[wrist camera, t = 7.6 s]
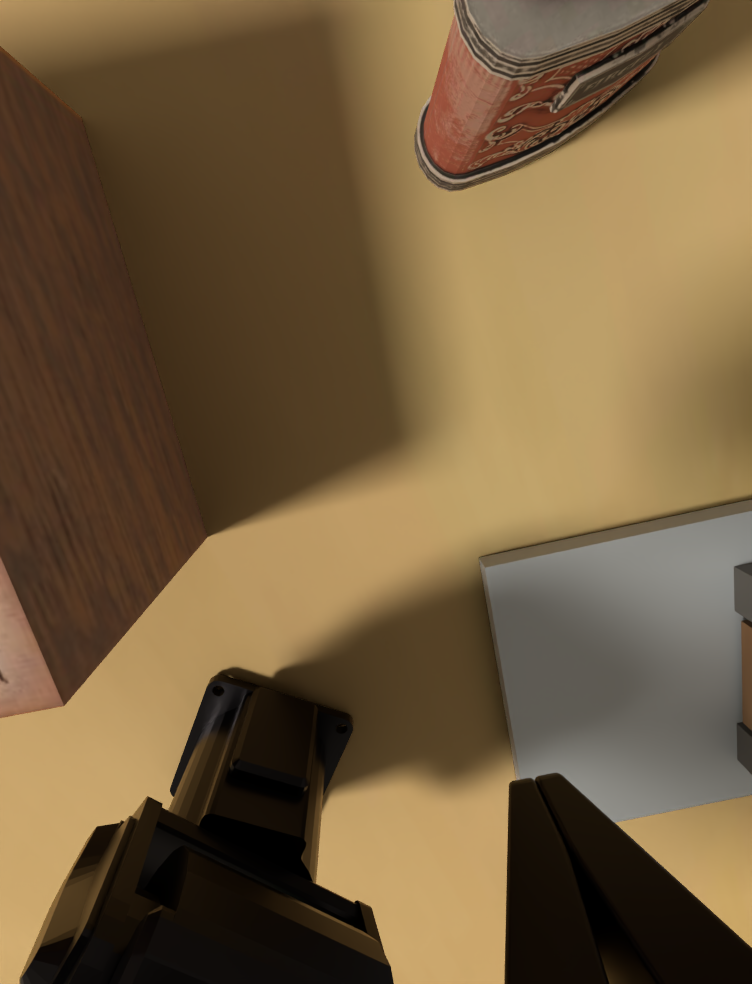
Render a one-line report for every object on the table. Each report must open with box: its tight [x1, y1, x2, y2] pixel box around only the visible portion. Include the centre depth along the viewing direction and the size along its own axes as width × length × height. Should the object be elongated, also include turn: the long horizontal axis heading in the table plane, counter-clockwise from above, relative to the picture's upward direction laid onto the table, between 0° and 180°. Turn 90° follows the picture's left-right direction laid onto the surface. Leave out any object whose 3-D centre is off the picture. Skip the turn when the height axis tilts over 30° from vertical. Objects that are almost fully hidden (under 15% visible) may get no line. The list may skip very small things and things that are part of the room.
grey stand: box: [479, 499, 752, 823], centre depth 19 cm, size 14×14×6 cm
